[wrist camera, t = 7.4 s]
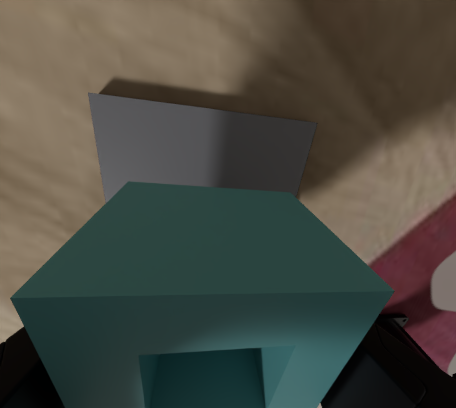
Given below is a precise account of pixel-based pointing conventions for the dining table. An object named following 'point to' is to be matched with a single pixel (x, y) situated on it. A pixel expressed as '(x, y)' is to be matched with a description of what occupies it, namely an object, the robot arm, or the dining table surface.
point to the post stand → (196, 146)
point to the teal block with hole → (199, 302)
